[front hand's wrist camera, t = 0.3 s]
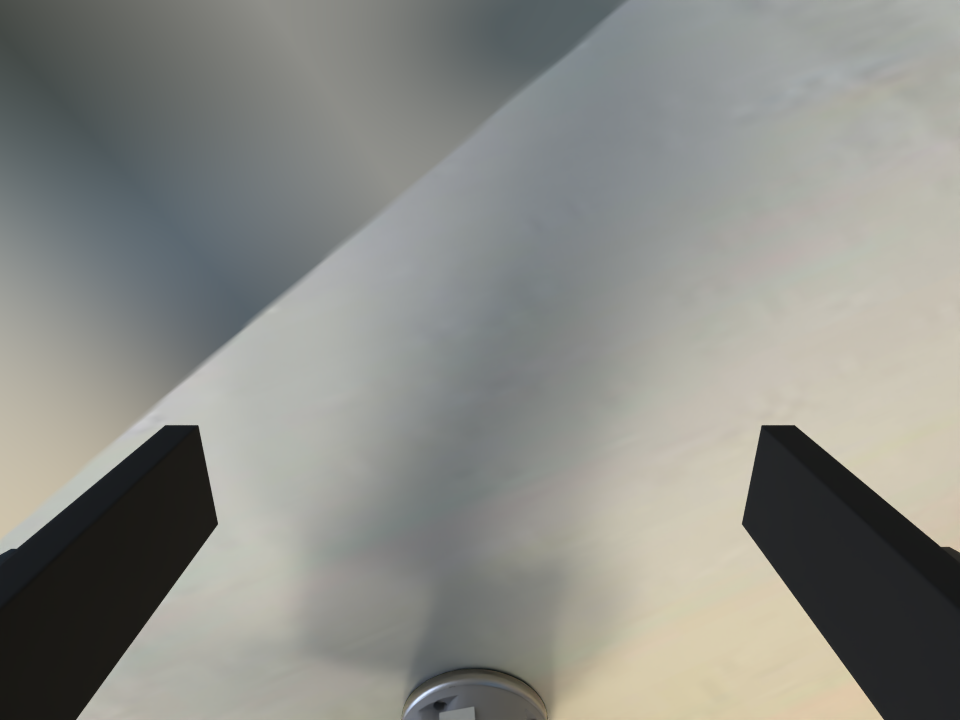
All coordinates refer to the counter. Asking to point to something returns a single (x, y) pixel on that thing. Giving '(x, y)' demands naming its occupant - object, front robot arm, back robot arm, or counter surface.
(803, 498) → the front robot arm
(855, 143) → the counter surface
